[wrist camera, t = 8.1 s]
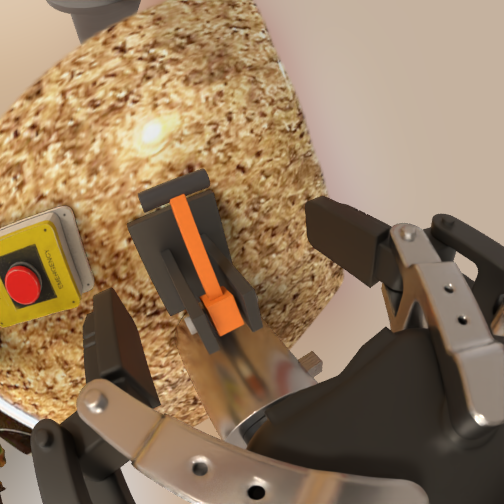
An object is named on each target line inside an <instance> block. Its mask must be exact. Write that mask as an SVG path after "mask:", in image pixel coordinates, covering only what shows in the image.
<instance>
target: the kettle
mask: <svg viewBox="0 0 504 504" xmlns="http://www.w3.org/2000/svg"><path fill="white" fill-rule="evenodd" d="M199 305H200V307H201V309H202V311H203V312H204V314H205V316H206V319H207V321H208V323H209V325H210V328H211V330H212V332H213V334H214V336H215V339H216V341H217V343H218V345H219V347H220V350H219V351H217V352H215V353H213V354H211V355H209V353H208V351H207V349H206V347H205V346H204V344H203V342H202V340H201V338H200V336H199V334H198V332H197V333H195V334H191V332H190V330H189V328H188V327H187V325H186V322H185V320H184V319H185V318H187V317H189V315H188V313H186V314H185V315H184V316H183V318H182V319H181V320H180V322H179V324H178V326H177V328H176V332H175V344H176V347H177V349H178V352H179V354H180V356H181V359H182V361H183V363H184V365H185V368H186V370H187V372H188V374H189V377H190V379H191V381H192V383H193V385H194V387H195V389H196V392H197V394H198V396H199V398H200V400H201V402H202V404H203V406H204V408H205V410H206V412H207V414H208V416H209V418H210V419H211V421H212V423H213V425H214V427H215V429H216V430H217V432H218V434H219V436H220V438H221V440H223V441H225V442H227V443H230V444H232V445H235V446H238V447H240V448H243V449H246V448H247V446H248V444H249V442H250V440H251V438H252V437H253V435H254V434H255V433H256V431H257V430H258V429H259V428H260V427H261V426H262V425H263V424H264V423H265V422H266V421H267V418H266V415H265V413H264V411H265V410H267V409H269V408H271V407H272V406H274V405H276V404H278V403H279V402H281V401H283V400H284V399H286V398H288V397H289V396H291V395H293V394H294V393H296V392H297V391H299V390H302V389H305V388H307V387H310V386H313V385H316V384H318V383H317V381H316V380H315V379H314V378H313V377H314V376H316V375H317V374H319V373H320V372H322V360H320V358H319V357H318V356H317V355H316V354H315V353H314V352H313V351H311V352H310V353H308V354H307V355H305V356H303V357H302V358H300V359H299V360H297V359H296V357H295V356H294V355H293V354H292V353H291V352H290V350H289V349H288V348H287V347H286V346H285V345H284V343H283V342H282V341H281V340H280V339H279V338H278V336H277V335H276V334H275V333H274V332H273V331H272V329H271V328H270V327H269V326H268V325H267V323H266V322H265V321H264V320H263V319H262V317H261V319H262V323H263V328H261V329H259V330H257V331H256V332H252V330H251V329H250V328H249V326H248V325H247V324H246V323H245V321H244V320H243V322H244V325H242V326H240V327H238V328H236V329H234V330H232V331H230V332H228V333H226V334H224V335H222V336H219V334H218V333H217V331H216V330H215V328H214V327H213V325H212V324H211V322H210V320H209V318H208V315H207V313H206V311H205V309H204V307H203V305H202V302H200V303H199Z"/></svg>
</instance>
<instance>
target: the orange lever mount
mask: <svg viewBox="0 0 504 504" xmlns="http://www.w3.org/2000/svg"><path fill="white" fill-rule="evenodd" d="M186 199H187V202H188V205H189V208H190V210H191V213H192V216H193V219H194V221H195V224H196V227H197V229H198V232H199V235H200V237H201V240H202V242H203V245H204V248H205V250H206V253H207V255H208V258H209V260H210V263H211V266H212V268H213V271H214V273H215V276H216V278H217V281H218V283H219V286H220V287H221V286H224V287H225V288H226V289H227V290H228V291H229V292H230V293H231V294H232V295H233V297H234V299H235V302H236V304H237V307H238V309H239V312H240V314H241V317H242V319H243V320H244V321H245V323H246V324H247V325H248V326H249V328H250V329H251V330H252V332H256V331H257V330H259V329H261V328H263V323H262V319H261V315H260V311H259V306H258V297H257V295H256V293H255V289H254V288H253V287H252V286H251V285H250V284H249V283H248V282H247V280H246V279H245V278H244V277H243V276H242V275H241V274H240V273H239V271H238V270H237V269H236V268H235V267H234V266H233V264H232V260H231V257H230V253H229V249H228V246H227V242H226V238H225V234H224V231H223V227H222V223H221V219H220V215H219V212H218V208H217V204H216V200H215V196H214V193H213V192H212V191H211V190H207V191H205V192H202V193H199V194H197V195H194V196H192V197H189V198H186ZM127 227H128V230H129V232H130V235H131V237H132V239H133V242H134V244H135V246H136V248H137V250H138V253H139V255H140V257H141V259H142V261H143V263H144V265H145V268H146V270H147V272H148V274H149V276H150V278H151V280H152V282H153V284H154V286H155V288H156V290H157V292H158V294H159V296H160V298H161V299H162V301H163V303H164V305H165V307H166V309H167V311H168V313H169V314H170V316H172V315H174V314H176V313H179V312H181V311H183V310H185V309H186V311H187V313H188V315H189V317H187V318H185V319H184V320H185V322H186V325H187V327H188V328H189V330H190V332H191V334H195V333H197V332H198V334H199V336H200V338H201V340H202V342H203V344H204V346H205V347H206V349H207V351H208V353H209V355H211V354H213V353H215V352H217V351H219V350H220V347H219V345H218V343H217V341H216V339H215V336H214V334H213V332H212V330H211V328H210V325H209V323H208V321H207V319H206V316H205V314H204V312H203V311H202V309H201V307H200V305H199V304H198V303H200V302H201V300H200V298H199V297H200V296H202V295H205V294H206V293H205V290H204V288H203V286H202V283H201V281H200V279H199V276H198V274H197V272H196V269H195V267H194V264H193V262H192V259H191V257H190V254H189V252H188V250H187V247H186V245H185V242H184V239H183V237H182V234H181V232H180V229H179V227H178V224H177V221H176V219H175V216H174V213H173V211H172V208H171V205H169V206H167V207H164V208H162V209H159V210H157V211H155V212H152V213H150V214H148V215H145V216H143V217H141V218H139V219H136V220H134V221H132V222H130V223H127Z"/></svg>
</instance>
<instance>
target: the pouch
mask: <svg viewBox="0 0 504 504" xmlns="http://www.w3.org/2000/svg"><path fill="white" fill-rule="evenodd" d="M4 464H6V459H5V450H4V449H3V448H2V447H1V445H0V467H3V466H4ZM3 490H5V488H4V487H3V486H2V482H1V481H0V492H1V491H3ZM0 504H3V503H2V499H1V495H0Z"/></svg>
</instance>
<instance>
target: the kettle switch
mask: <svg viewBox="0 0 504 504" xmlns="http://www.w3.org/2000/svg"><path fill="white" fill-rule="evenodd" d="M209 186H210V181H209V177H208V174H207V172H206V171H205V169H200V170H197V171H194V172H191V173H189V174H186V175H183V176H180V177H178V178H175V179H172V180H170V181H167V182H165V183H162V184H160V185H157V186H155V187H152V188H150V189H147V190H145V191H142V192H140V193H138V197H139V200H140V202H141V205H142V208H143V210H144V212H148V211H150V210H152V209H155V208H157V207H160V206H162V205H164V204H167V203H170V205H171V208H172V211H173V213H174V216H175V219H176V221H177V224H178V227H179V229H180V232H181V234H182V237H183V239H184V242H185V245H186V247H187V250H188V252H189V254H190V257H191V259H192V262H193V264H194V267H195V269H196V272H197V274H198V276H199V279H200V281H201V283H202V286H203V288H204V290H205V293H206V294H205V295H202V296H200V297H199V298H200V300H201V302H202V305H203V307H204V309H205V311H206V313H207V315H208V318H209V320H210V322H211V324H212V325H213V327H214V328H215V330H216V331H217V333H218V334H219V336H222V335H224V334H226V333H228V332H230V331H232V330H234V329H236V328H238V327H240V326H242V325H244V322H243V319H242V317H241V314H240V312H239V309H238V307H237V304H236V302H235V299H234V297H233V295H232V294H231V293H230V292H229V291H228V290H227V289H226V288H225V287H224V286H221V287H220V286H219V283H218V281H217V278H216V276H215V273H214V271H213V268H212V266H211V263H210V260H209V258H208V255H207V253H206V250H205V248H204V245H203V242H202V240H201V237H200V235H199V232H198V229H197V227H196V224H195V221H194V219H193V216H192V213H191V210H190V208H189V205H188V202H187V199H186V197H185V196H187V195H189V194H192V193H194V192H197V191H200V190H202V189H205V188H208V187H209Z"/></svg>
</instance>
